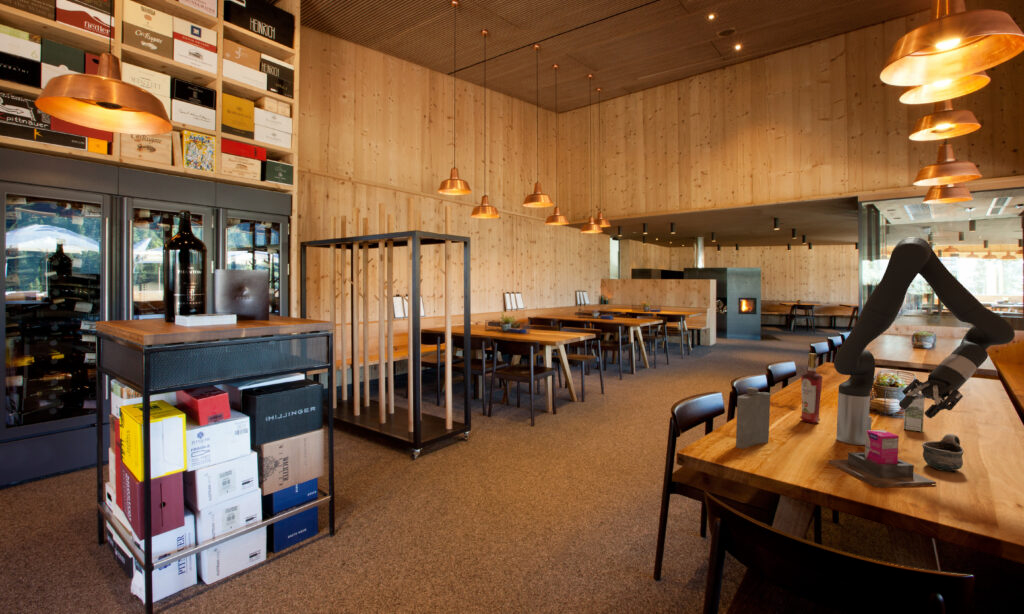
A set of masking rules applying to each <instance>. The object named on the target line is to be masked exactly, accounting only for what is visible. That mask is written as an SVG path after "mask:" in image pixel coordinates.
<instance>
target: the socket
mask: <svg viewBox="0 0 1024 614" xmlns="http://www.w3.org/2000/svg"><path fill="white" fill-rule="evenodd" d="M828 464H829V465H832V466H834V467H835V468H838V469H840V470H842V471H843V472H845V473H848V474H850V475H852V476H853V477H855V478H857V479H859V480H861V481H862V482H865V483H866V484H869V485H871V486H873V487H875V488H894V487H893V486H904V487H918V486H917V485H932V484H936V485H937V482H936V481H935V480H933V479H930V478H928V477H925V476H923V475H921V474H919V473H916V472H914V470H915V467H914V464H911V463H909V462H907V461H906V460H902V459H899V458H898V464H877V463H875V462H873V461H870V460H868V459H866V458H865V451H864V452H863V451H862V452H848V453H847V459H828ZM890 486H891V487H890ZM932 486H933V485H932Z"/></svg>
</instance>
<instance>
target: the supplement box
mask: <svg viewBox="0 0 1024 614" xmlns="http://www.w3.org/2000/svg"><path fill="white" fill-rule="evenodd" d="M899 439H900V438H899V435H897V434H894V433H892V432H890V431H887V430H884V429H876V430H875V429H874V430H873V429H871V430H868V431H866V441H865V445H864V452H865V458H866V459H868V460H870V461H873V462H875V463H877V464H898V459H899V441H900V440H899Z"/></svg>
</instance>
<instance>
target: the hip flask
mask: <svg viewBox="0 0 1024 614" xmlns="http://www.w3.org/2000/svg"><path fill="white" fill-rule="evenodd" d="M746 392H747V393H745V394H742V395H738V396H737V403H736V405H737V406H736V427H735V428H736V431H735V432H736V435H735V448H737V449H739V448H741V449H740V450H745V449H744V448H746V449H747V447H748V448H751V447H753V446H756V444H757V445H761V444H762V443H763V444H768V443H769V441H770V440H769V437H770V415H771V410H770V409H771V393H770V392H766V391H761V392H760V391H759V387H756V386H747V387H746Z"/></svg>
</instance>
